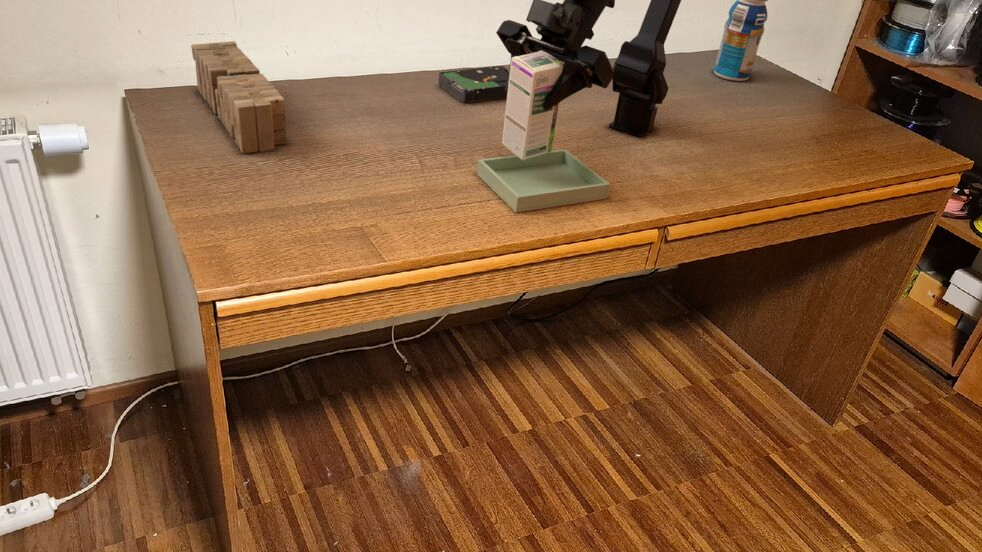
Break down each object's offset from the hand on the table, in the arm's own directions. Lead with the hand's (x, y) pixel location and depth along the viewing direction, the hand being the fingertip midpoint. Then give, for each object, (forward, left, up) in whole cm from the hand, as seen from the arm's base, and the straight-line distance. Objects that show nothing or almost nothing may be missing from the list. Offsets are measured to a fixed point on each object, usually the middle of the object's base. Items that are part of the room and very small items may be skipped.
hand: (524, 101), depth 118 cm
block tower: (-47, -13, -13) cm, 50 cm away
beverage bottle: (+7, +82, -13) cm, 83 cm away
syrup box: (0, +2, -8) cm, 9 cm away
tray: (+4, +1, -13) cm, 14 cm away
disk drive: (-26, +30, -13) cm, 41 cm away
